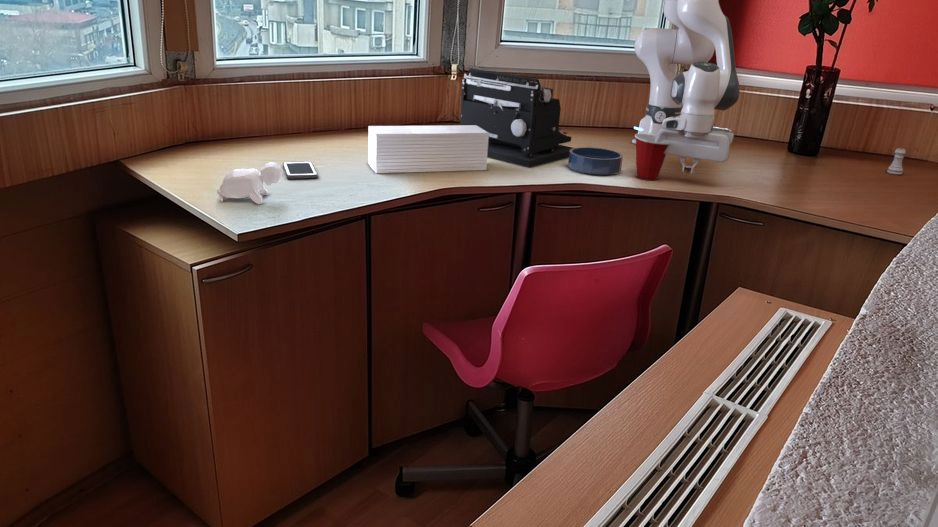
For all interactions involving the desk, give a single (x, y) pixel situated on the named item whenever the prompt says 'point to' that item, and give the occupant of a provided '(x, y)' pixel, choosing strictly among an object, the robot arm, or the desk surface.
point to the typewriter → (514, 117)
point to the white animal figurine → (250, 182)
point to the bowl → (595, 160)
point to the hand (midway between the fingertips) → (687, 172)
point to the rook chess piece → (897, 163)
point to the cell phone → (299, 169)
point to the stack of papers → (427, 148)
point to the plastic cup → (649, 156)
